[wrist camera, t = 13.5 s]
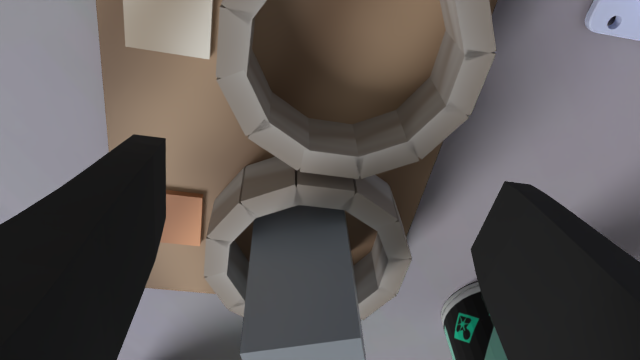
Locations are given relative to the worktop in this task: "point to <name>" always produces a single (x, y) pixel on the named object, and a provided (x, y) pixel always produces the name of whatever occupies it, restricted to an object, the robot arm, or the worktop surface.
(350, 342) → the plug
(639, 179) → the worktop surface
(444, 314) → the spray can
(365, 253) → the socket board
